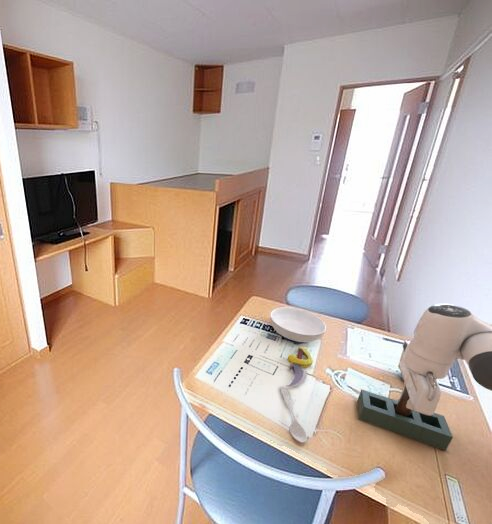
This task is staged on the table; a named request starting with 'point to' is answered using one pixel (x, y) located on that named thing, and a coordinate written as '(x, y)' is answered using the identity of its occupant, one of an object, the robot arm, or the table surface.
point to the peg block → (403, 420)
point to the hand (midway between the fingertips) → (407, 401)
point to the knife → (299, 365)
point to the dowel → (403, 404)
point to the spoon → (294, 420)
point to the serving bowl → (297, 324)
